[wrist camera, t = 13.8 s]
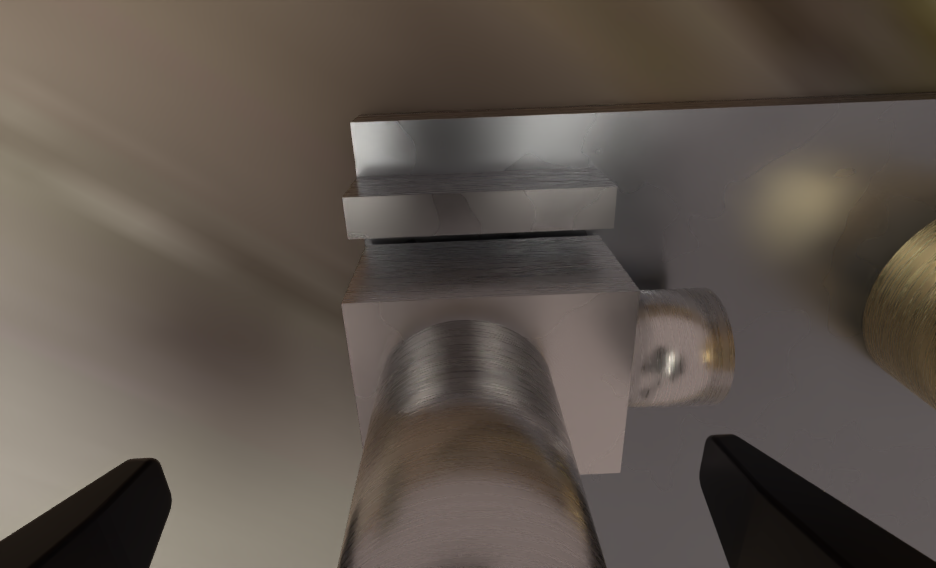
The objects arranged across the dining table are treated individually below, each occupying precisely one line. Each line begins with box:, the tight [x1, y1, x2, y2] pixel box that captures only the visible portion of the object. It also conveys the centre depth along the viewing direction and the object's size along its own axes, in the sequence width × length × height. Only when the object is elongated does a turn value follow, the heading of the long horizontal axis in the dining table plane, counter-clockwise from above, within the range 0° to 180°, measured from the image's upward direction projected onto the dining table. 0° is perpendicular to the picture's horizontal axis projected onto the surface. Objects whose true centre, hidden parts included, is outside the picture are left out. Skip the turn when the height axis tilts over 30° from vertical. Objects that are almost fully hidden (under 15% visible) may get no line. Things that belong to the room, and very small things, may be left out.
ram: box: [337, 235, 735, 568], centre depth 8 cm, size 4×7×8 cm, turn 92°
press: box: [342, 92, 936, 568], centre depth 12 cm, size 15×18×6 cm
